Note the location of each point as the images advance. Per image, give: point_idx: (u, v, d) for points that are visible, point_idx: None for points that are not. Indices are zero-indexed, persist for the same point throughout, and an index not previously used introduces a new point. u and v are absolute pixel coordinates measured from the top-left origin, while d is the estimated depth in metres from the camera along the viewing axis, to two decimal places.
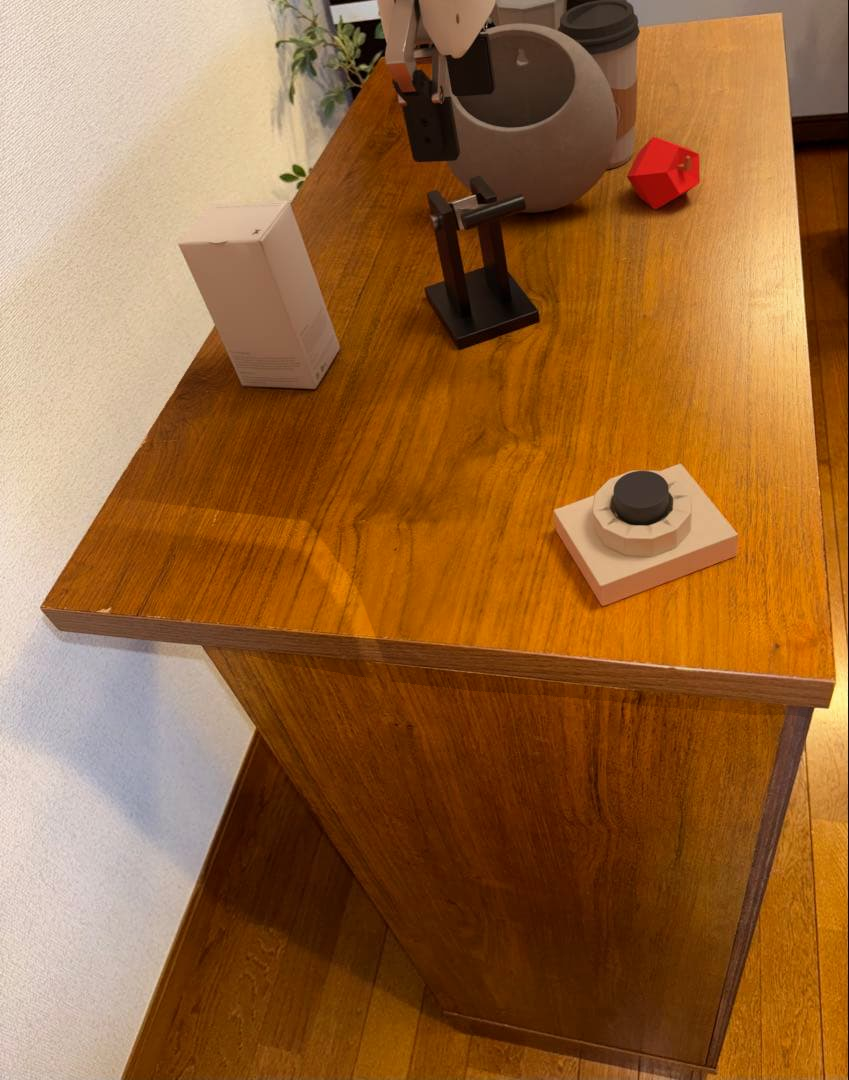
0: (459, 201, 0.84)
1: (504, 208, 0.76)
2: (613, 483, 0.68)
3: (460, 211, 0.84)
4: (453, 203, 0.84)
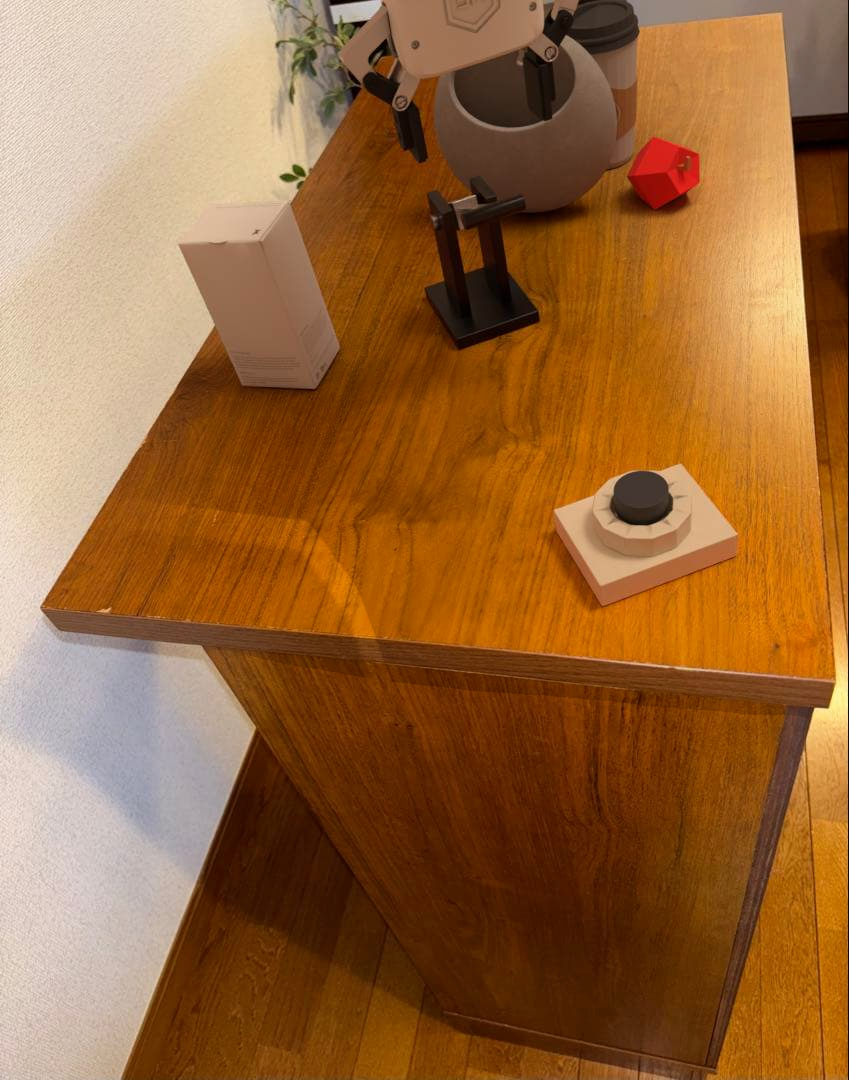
0: (459, 201, 0.84)
1: (504, 208, 0.76)
2: (613, 483, 0.68)
3: (460, 211, 0.84)
4: (453, 203, 0.84)
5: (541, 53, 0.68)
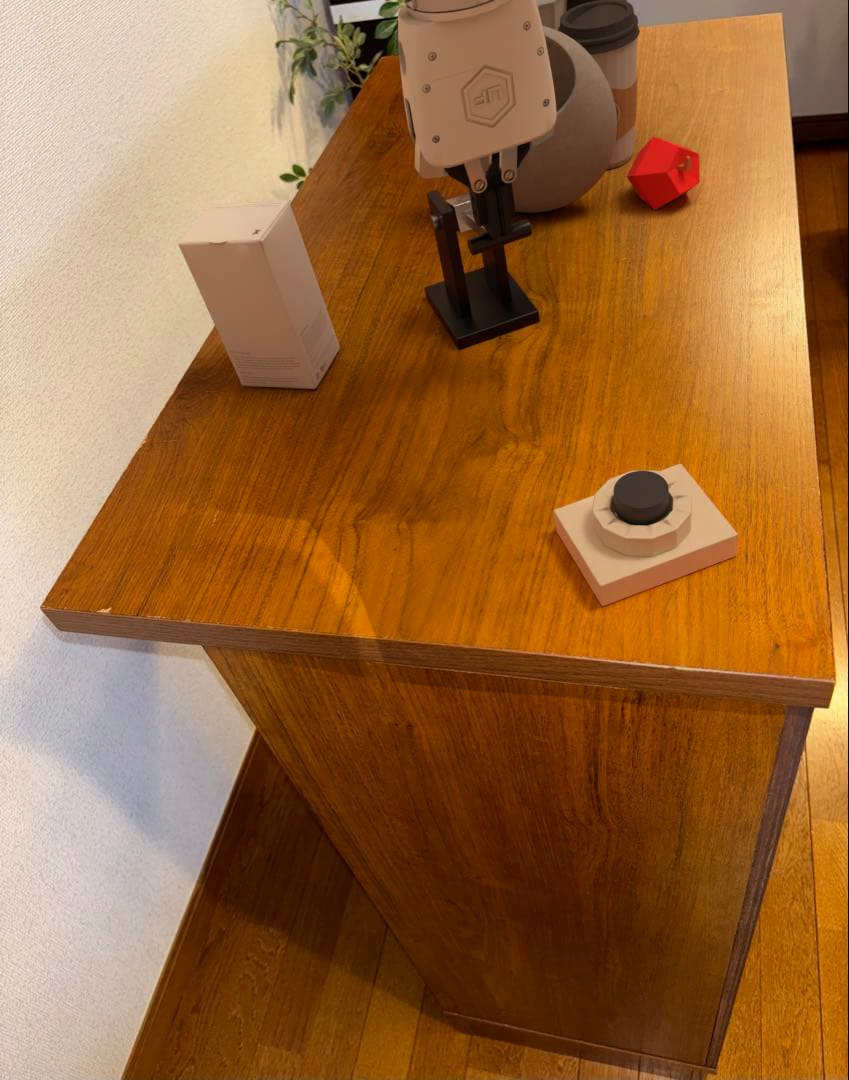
0: (461, 205, 0.84)
1: (511, 235, 0.77)
2: (613, 483, 0.68)
3: (461, 214, 0.85)
4: (454, 206, 0.84)
5: (504, 169, 0.73)
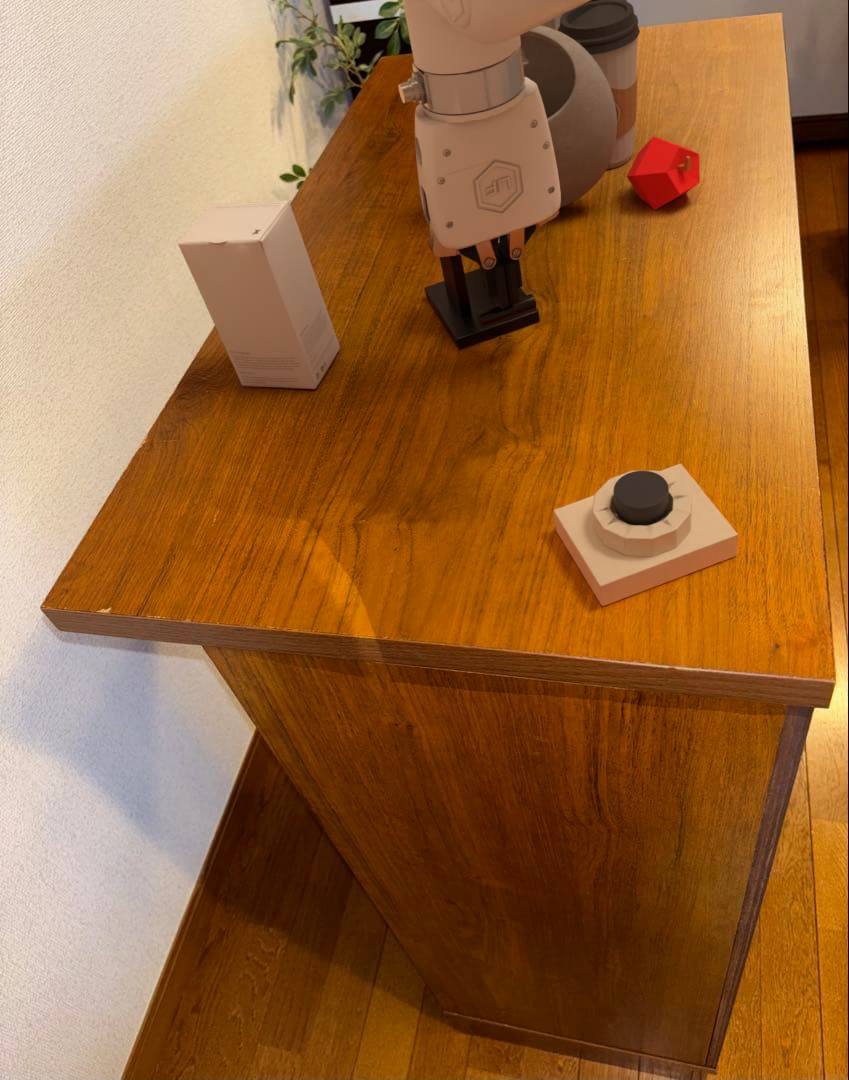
0: None
1: (517, 313, 0.84)
2: (613, 483, 0.68)
3: None
4: None
5: (512, 247, 0.78)
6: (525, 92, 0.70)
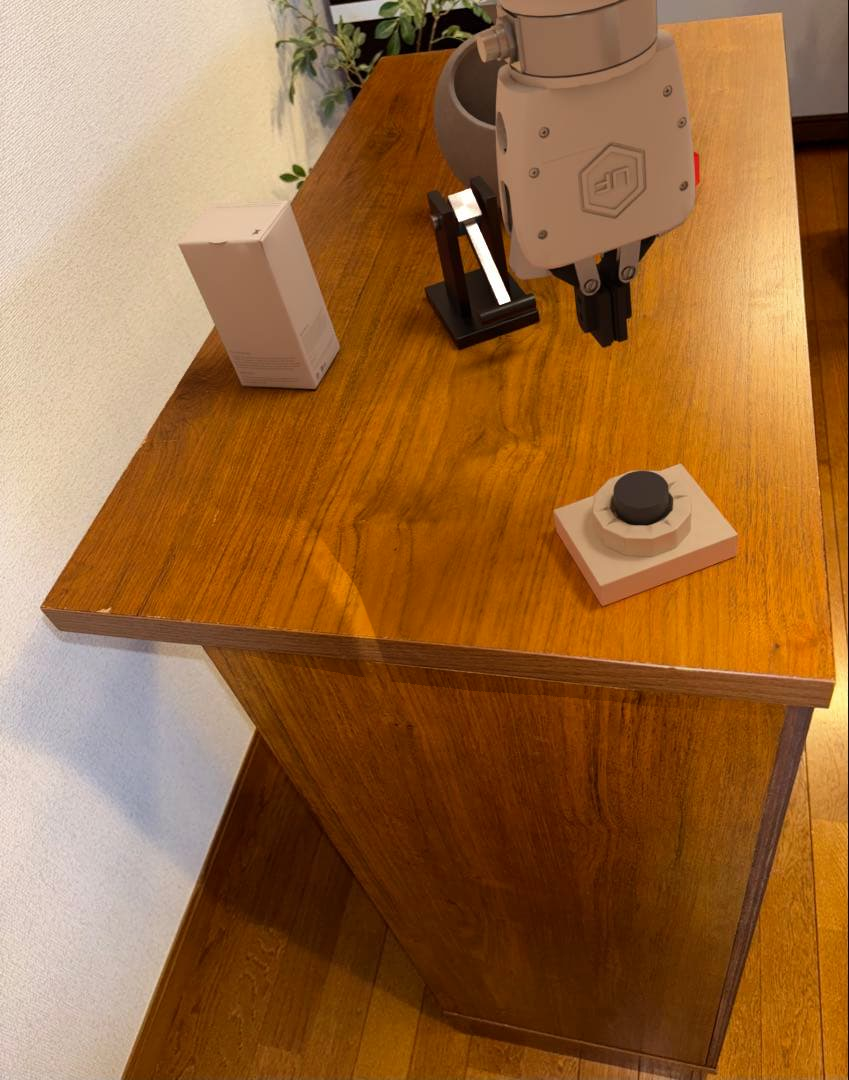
0: (465, 220, 0.84)
1: (517, 313, 0.83)
2: (613, 483, 0.68)
3: (463, 226, 0.85)
4: (459, 222, 0.84)
5: (622, 266, 0.57)
6: (657, 45, 0.49)
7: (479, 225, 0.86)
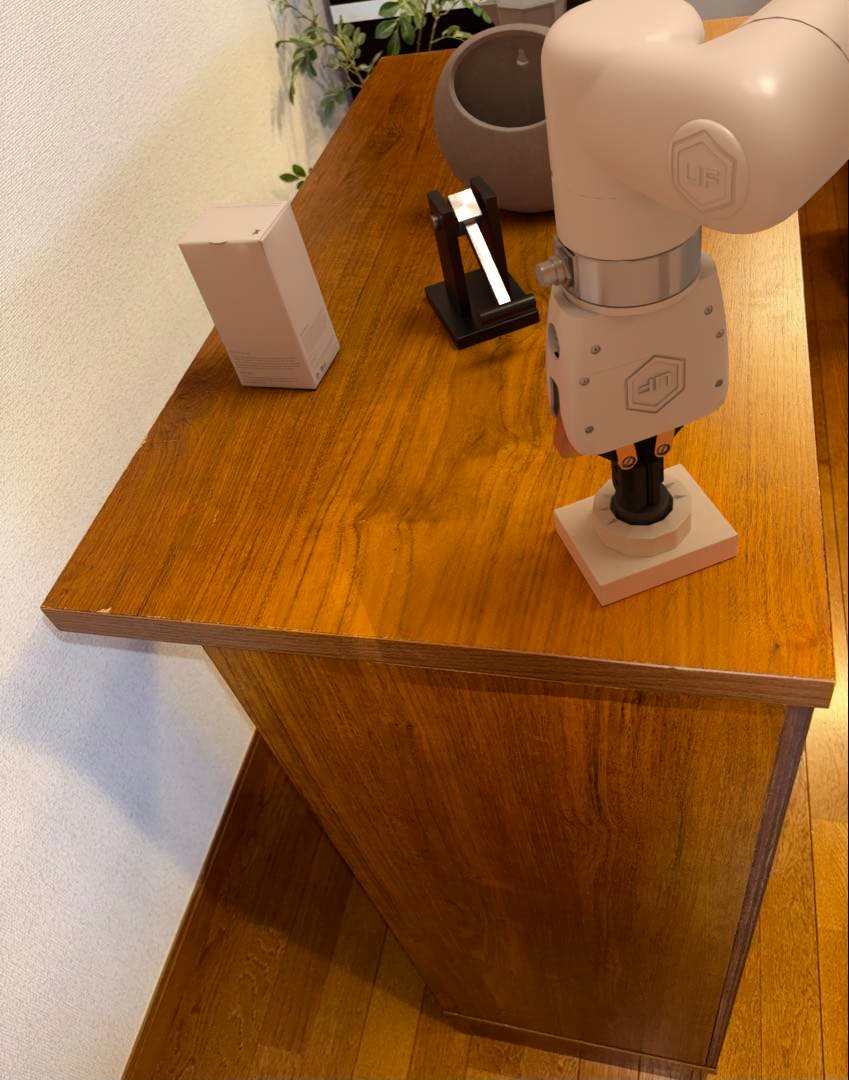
0: (465, 220, 0.84)
1: (517, 313, 0.83)
2: None
3: (463, 226, 0.85)
4: (459, 222, 0.84)
5: (658, 444, 0.61)
6: (700, 271, 0.53)
7: (479, 225, 0.86)
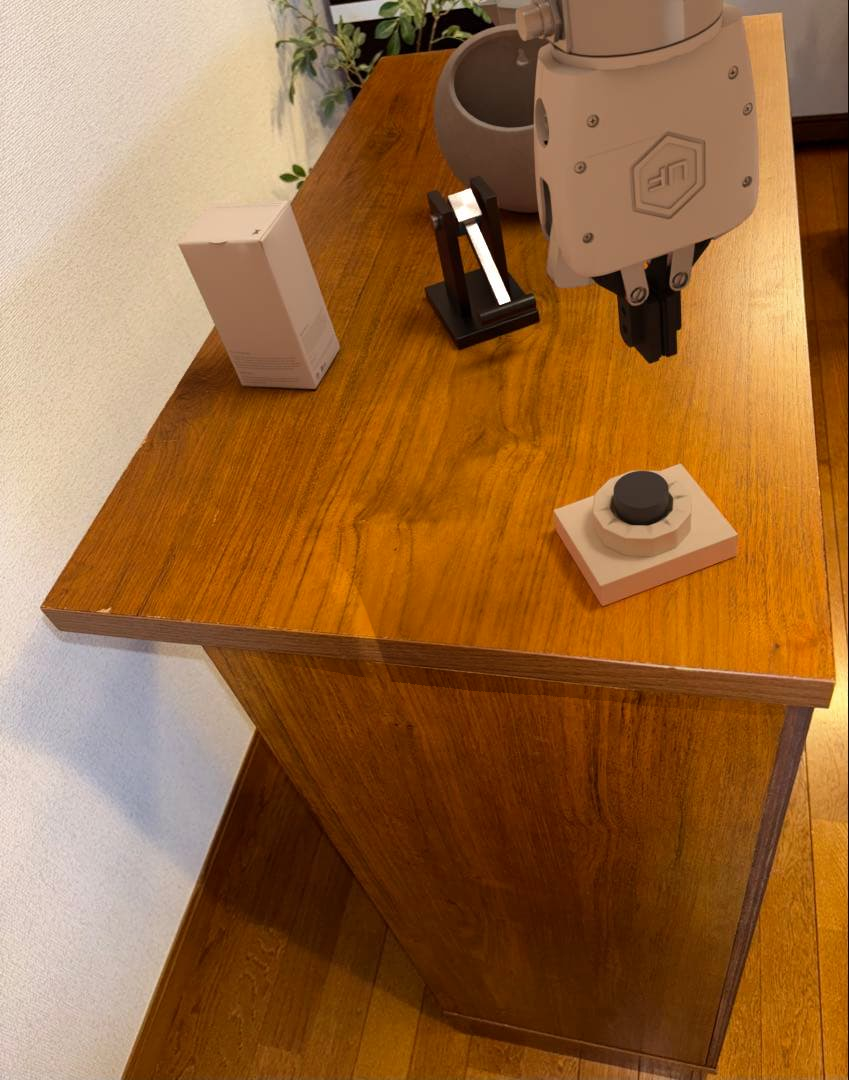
0: (465, 220, 0.84)
1: (517, 313, 0.83)
2: (613, 483, 0.68)
3: (463, 226, 0.85)
4: (459, 222, 0.84)
5: (674, 272, 0.51)
6: (722, 20, 0.43)
7: (479, 225, 0.86)
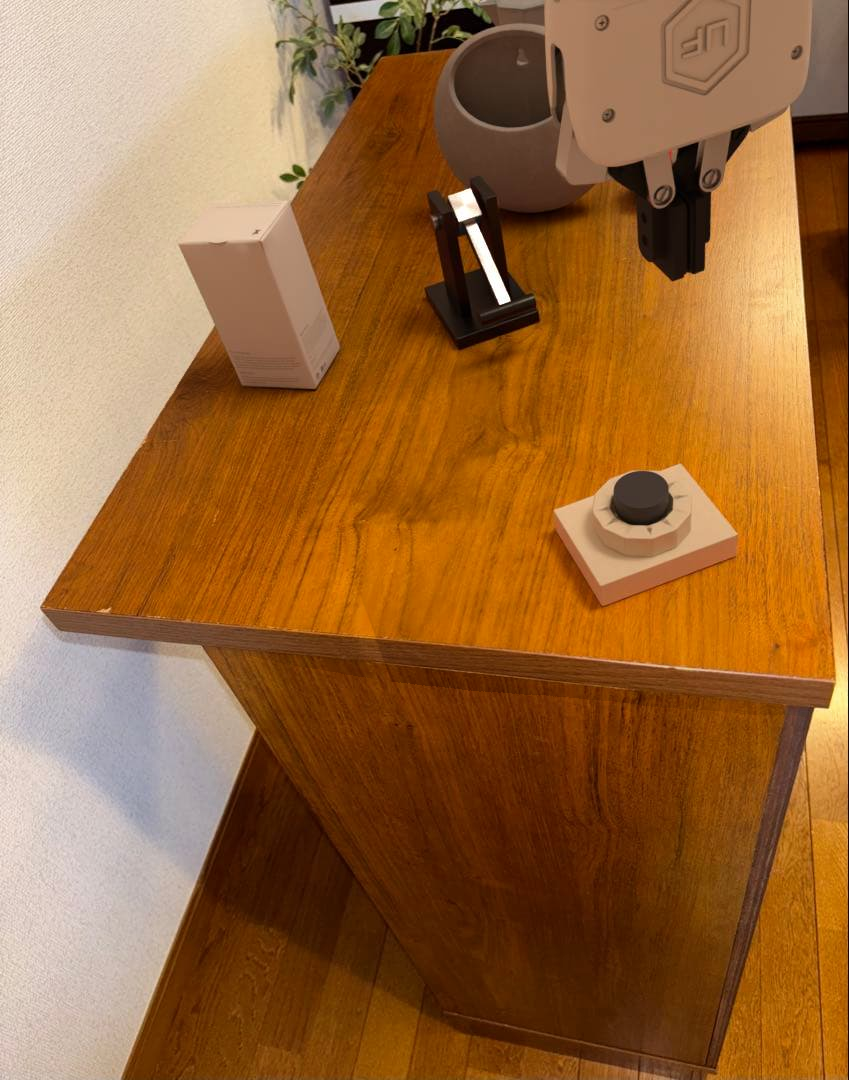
0: (465, 220, 0.84)
1: (517, 313, 0.83)
2: (613, 483, 0.68)
3: (463, 226, 0.85)
4: (459, 222, 0.84)
5: (705, 168, 0.43)
6: None
7: (479, 225, 0.86)
